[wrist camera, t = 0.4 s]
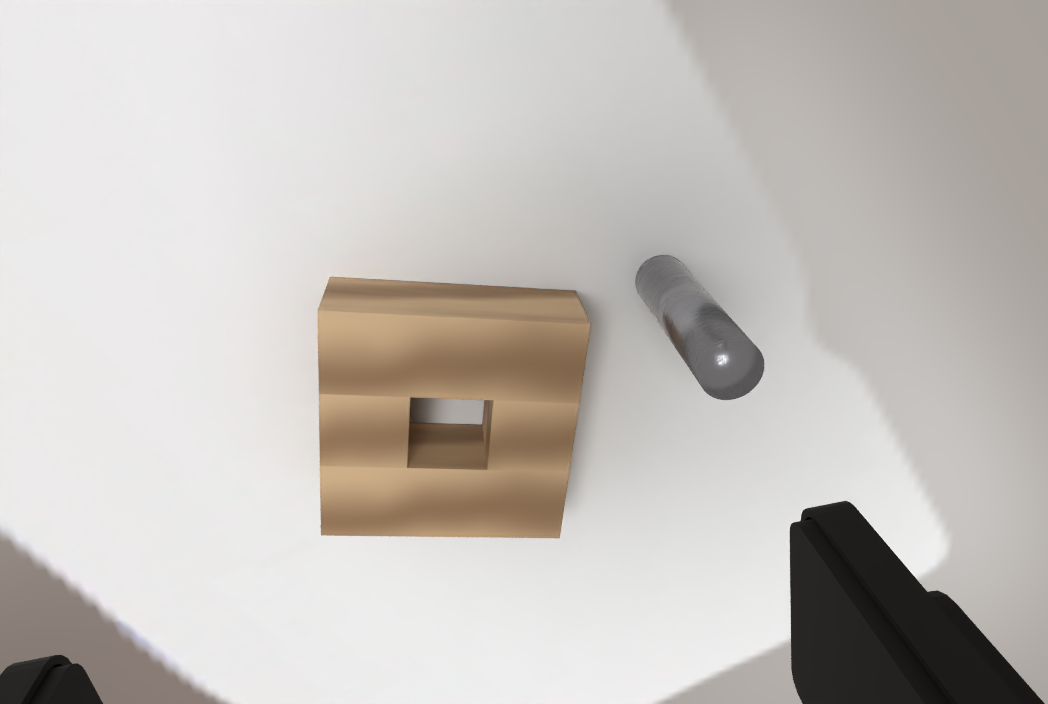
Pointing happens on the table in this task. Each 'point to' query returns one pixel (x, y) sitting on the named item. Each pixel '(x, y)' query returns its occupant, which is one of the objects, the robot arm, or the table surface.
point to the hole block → (449, 373)
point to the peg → (700, 329)
